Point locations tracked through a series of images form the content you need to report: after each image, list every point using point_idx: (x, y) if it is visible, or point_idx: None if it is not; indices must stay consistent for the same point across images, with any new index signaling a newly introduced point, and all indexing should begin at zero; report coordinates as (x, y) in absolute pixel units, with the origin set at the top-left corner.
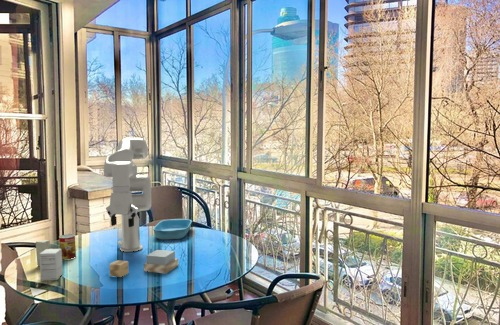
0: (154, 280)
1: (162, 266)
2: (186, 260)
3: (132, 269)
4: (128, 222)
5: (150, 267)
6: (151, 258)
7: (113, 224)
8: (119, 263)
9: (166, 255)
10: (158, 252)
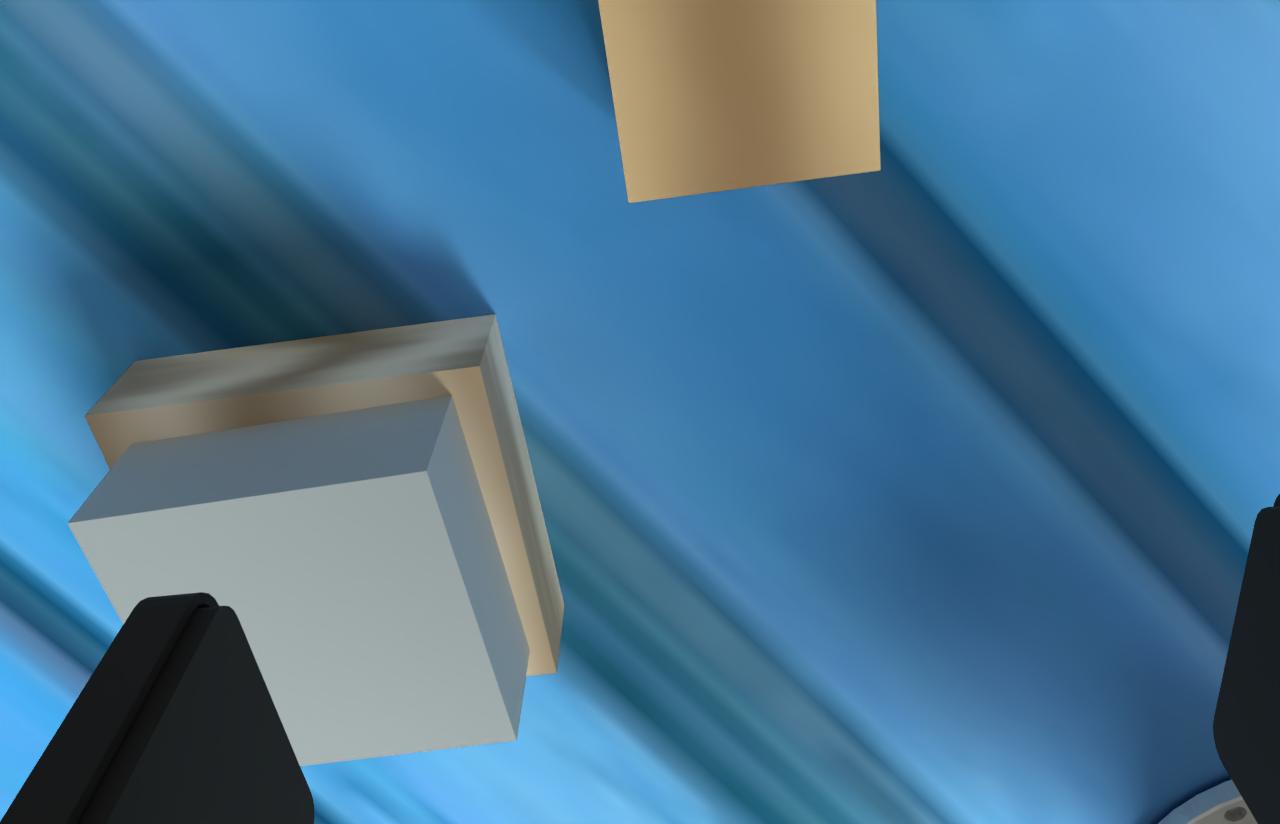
0: (25, 65)
1: (147, 403)
2: (316, 788)
3: (712, 300)
4: (130, 783)
5: (368, 358)
6: (340, 459)
7: (1277, 595)
8: (693, 22)
9: (125, 589)
10: (374, 652)
